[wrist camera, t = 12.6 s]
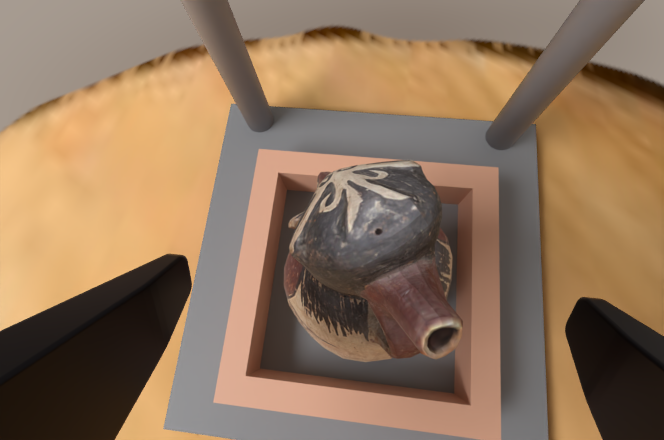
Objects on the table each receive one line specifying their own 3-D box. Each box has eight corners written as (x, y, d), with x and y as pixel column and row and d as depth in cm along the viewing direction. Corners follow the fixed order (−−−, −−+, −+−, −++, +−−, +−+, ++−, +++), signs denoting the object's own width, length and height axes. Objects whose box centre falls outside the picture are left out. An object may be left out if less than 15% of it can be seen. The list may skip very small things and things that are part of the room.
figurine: (404, 201, 20) (476, 37, 8) (457, 329, 18) (644, 345, 6) (280, 243, 20) (179, 133, 8) (321, 377, 18) (263, 484, 6)
